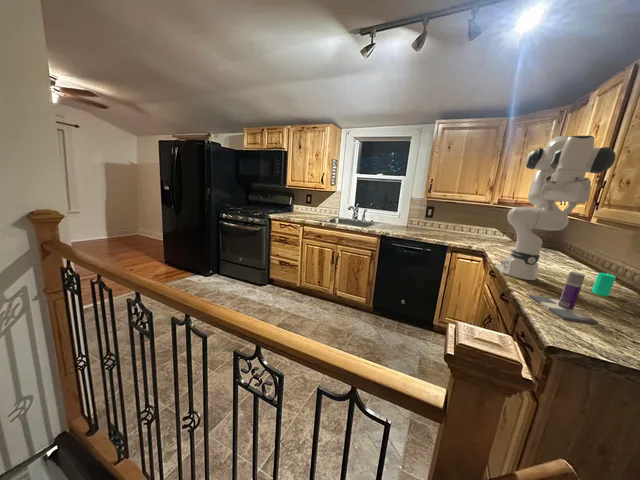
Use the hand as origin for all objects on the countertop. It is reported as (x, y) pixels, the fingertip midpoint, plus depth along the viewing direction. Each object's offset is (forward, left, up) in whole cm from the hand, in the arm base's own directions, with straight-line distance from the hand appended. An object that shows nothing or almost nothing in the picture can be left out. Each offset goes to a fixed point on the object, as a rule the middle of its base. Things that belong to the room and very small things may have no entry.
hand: (557, 212), depth 104 cm
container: (+7, +9, -38) cm, 40 cm away
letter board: (+7, +7, -39) cm, 40 cm away
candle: (-22, +46, -39) cm, 64 cm away
